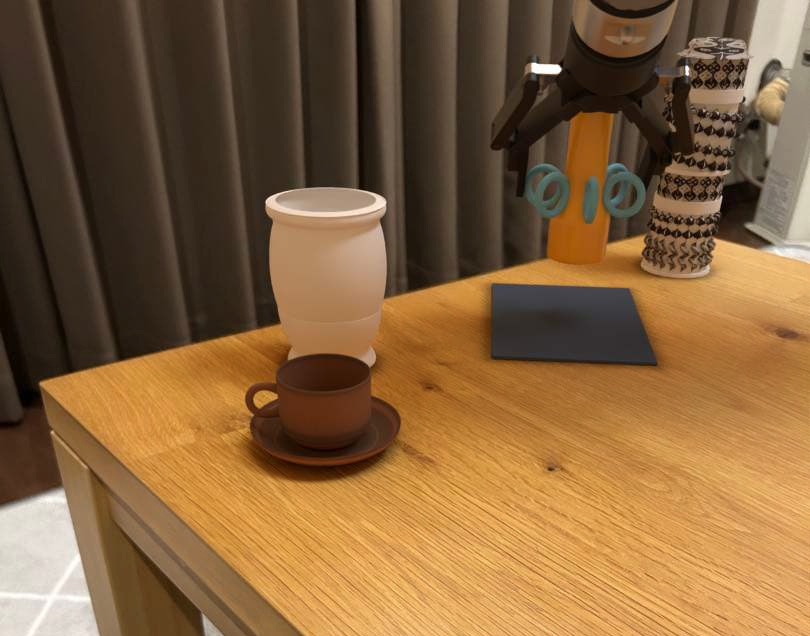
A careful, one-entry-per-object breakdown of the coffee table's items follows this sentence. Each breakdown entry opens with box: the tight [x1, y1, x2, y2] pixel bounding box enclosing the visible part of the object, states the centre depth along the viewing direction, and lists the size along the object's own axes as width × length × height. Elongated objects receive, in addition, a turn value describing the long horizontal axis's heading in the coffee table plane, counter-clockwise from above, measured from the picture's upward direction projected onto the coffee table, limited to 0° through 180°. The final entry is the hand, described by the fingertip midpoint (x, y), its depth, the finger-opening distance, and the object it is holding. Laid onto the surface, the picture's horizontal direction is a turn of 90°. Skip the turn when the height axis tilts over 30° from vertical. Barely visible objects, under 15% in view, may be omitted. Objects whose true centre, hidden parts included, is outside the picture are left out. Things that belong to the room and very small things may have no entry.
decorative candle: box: [640, 36, 755, 279], centre depth 102 cm, size 9×9×25 cm
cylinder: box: [524, 111, 647, 266], centre depth 85 cm, size 12×10×15 cm
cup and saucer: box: [244, 353, 402, 467], centre depth 68 cm, size 12×12×6 cm
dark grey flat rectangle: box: [490, 282, 659, 367], centre depth 93 cm, size 22×16×1 cm
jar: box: [265, 187, 388, 368], centre depth 79 cm, size 11×10×15 cm
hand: (579, 187), depth 88 cm, fingers closed on cylinder, 11 cm apart
